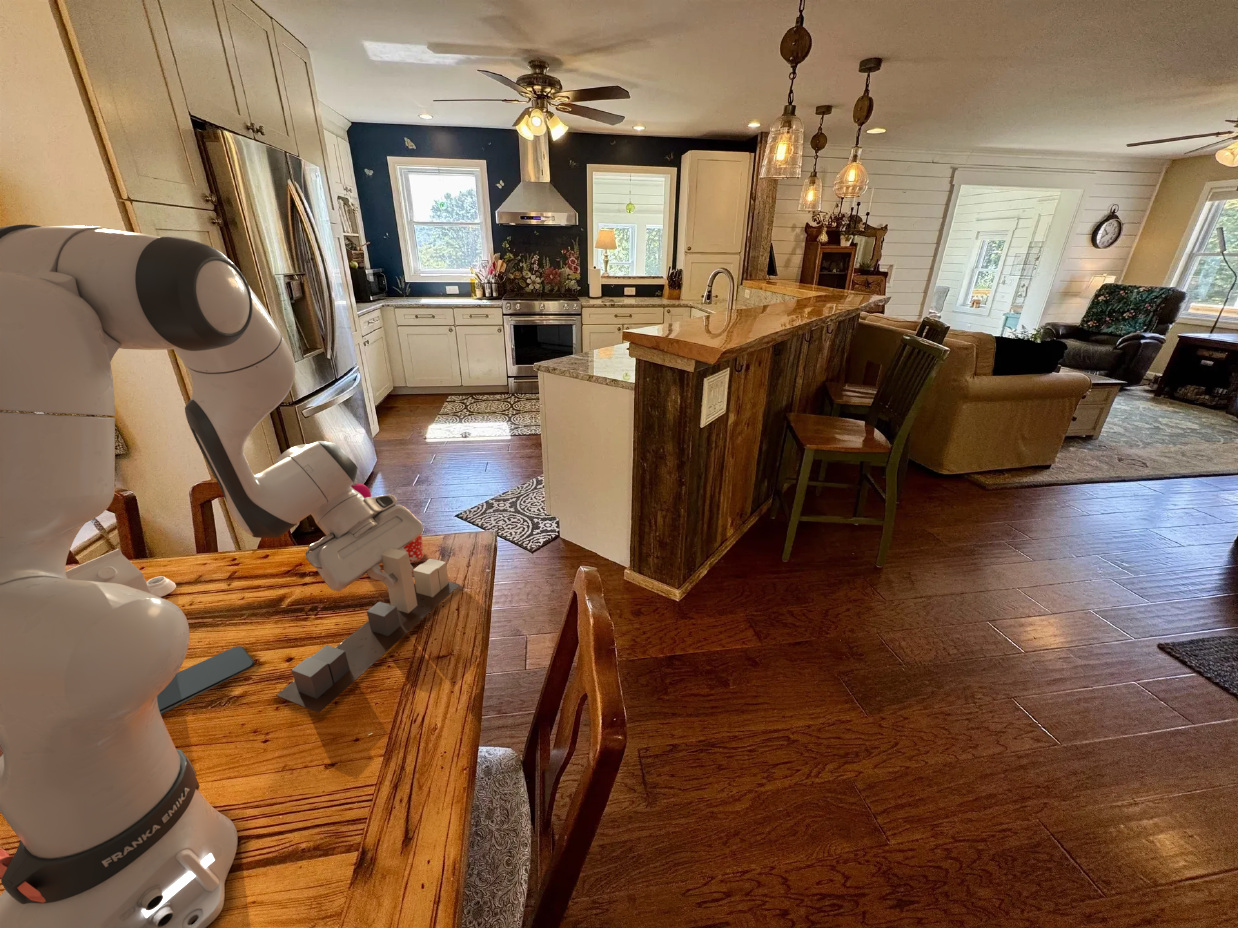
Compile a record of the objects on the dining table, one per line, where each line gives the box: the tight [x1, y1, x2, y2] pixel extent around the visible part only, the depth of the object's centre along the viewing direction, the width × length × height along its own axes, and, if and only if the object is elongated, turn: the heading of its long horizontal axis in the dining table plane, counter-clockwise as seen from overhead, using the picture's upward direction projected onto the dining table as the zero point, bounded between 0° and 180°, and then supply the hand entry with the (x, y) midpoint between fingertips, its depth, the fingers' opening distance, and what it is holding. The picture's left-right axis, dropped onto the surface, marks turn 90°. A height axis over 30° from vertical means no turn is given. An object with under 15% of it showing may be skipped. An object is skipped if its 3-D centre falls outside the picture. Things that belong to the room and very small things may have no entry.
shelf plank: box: [276, 581, 461, 714], centre depth 89 cm, size 34×9×1 cm, turn 160°
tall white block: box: [381, 548, 417, 613], centre depth 91 cm, size 2×4×12 cm, turn 70°
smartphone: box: [157, 645, 255, 715], centre depth 78 cm, size 8×2×15 cm
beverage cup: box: [402, 504, 425, 563], centre depth 109 cm, size 6×6×14 cm
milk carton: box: [65, 548, 151, 594], centre depth 81 cm, size 7×7×19 cm
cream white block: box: [412, 558, 450, 597], centre depth 100 cm, size 5×4×6 cm
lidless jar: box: [146, 575, 177, 598], centre depth 99 cm, size 5×3×5 cm
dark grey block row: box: [290, 601, 400, 699], centre depth 83 cm, size 18×4×4 cm, turn 160°
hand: (401, 577), depth 91 cm, fingers closed on tall white block, 2 cm apart
